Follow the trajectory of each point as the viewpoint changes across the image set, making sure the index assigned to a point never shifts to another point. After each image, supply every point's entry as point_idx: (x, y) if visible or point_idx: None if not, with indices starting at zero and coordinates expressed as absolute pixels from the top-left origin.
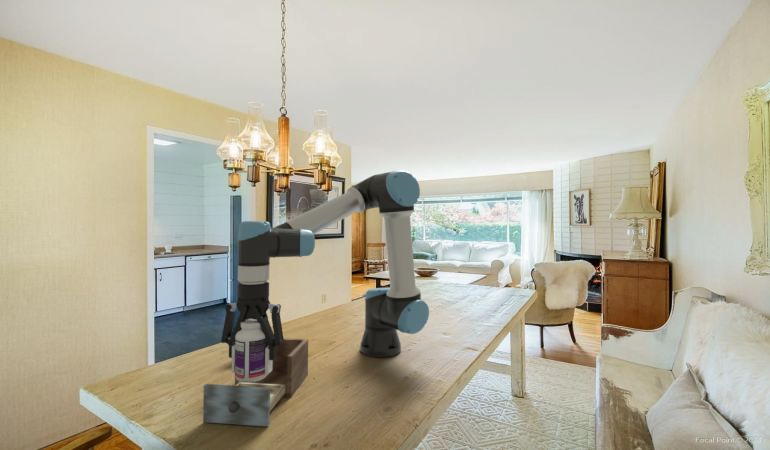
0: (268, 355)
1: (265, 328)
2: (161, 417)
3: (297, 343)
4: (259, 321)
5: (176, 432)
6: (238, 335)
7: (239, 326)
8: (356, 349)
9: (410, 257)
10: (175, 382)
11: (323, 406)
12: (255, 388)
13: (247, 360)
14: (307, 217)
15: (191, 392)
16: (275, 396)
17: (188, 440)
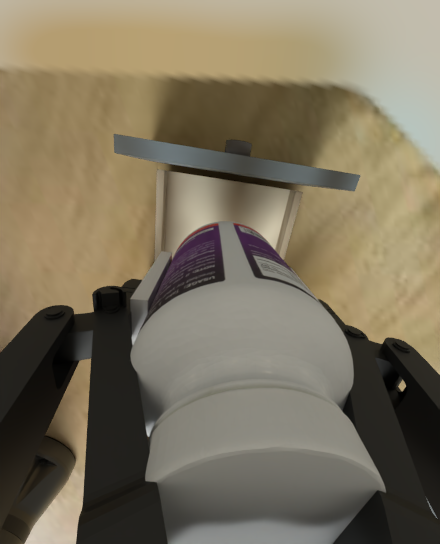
0: (141, 283)
1: (98, 412)
2: (403, 203)
3: (148, 438)
4: (131, 509)
5: (356, 136)
6: (331, 334)
7: (366, 436)
8: (83, 457)
9: None
10: (406, 337)
11: (56, 243)
12: (167, 146)
13: (227, 240)
14: None
15: (365, 301)
16: (155, 237)
17: (319, 97)
